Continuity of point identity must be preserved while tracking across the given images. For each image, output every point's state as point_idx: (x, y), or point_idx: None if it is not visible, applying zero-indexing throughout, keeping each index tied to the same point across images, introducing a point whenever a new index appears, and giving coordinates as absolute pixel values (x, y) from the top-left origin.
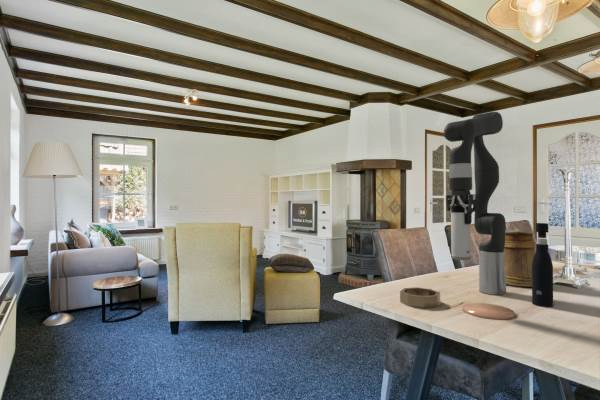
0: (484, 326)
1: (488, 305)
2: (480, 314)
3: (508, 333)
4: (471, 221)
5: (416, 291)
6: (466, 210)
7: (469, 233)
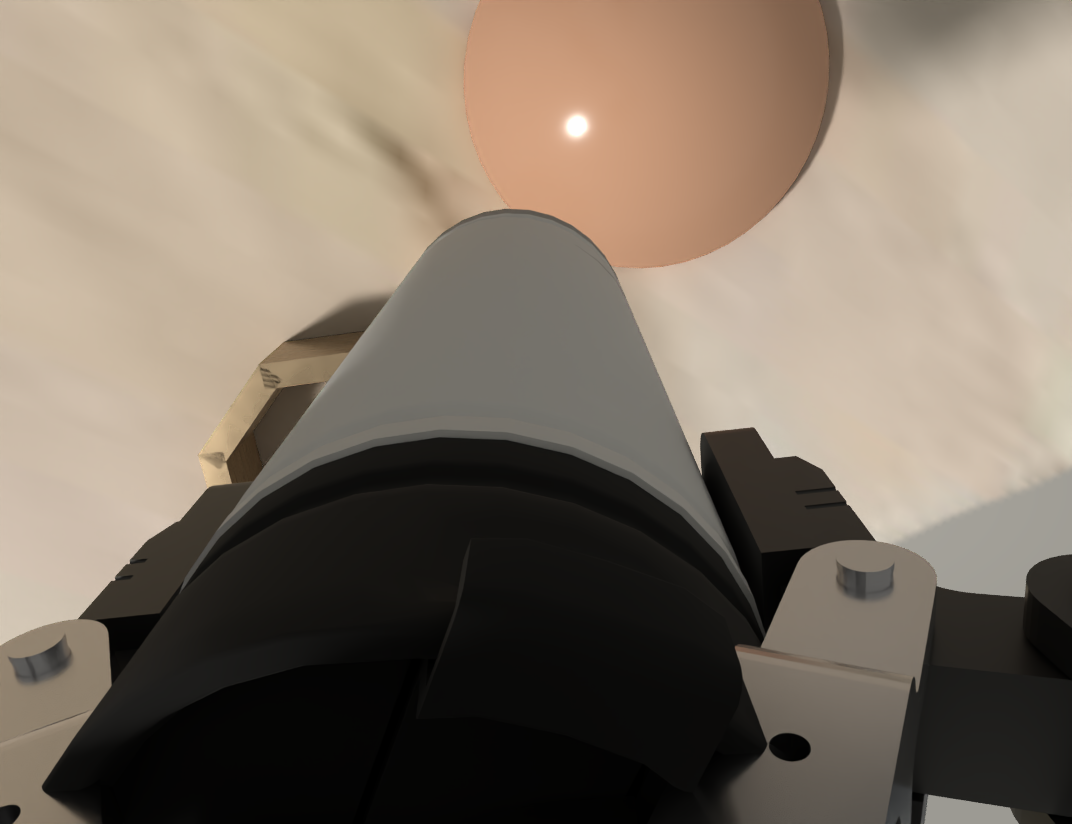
0: (907, 309)
1: (544, 3)
2: (743, 221)
3: (1049, 243)
4: (816, 468)
5: (236, 455)
6: (924, 806)
7: (644, 352)
